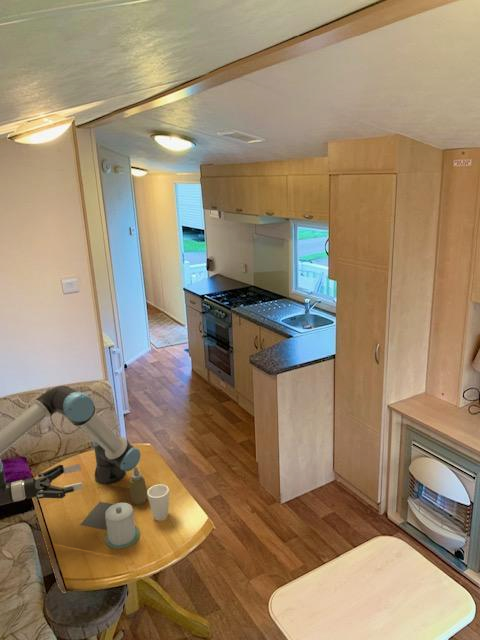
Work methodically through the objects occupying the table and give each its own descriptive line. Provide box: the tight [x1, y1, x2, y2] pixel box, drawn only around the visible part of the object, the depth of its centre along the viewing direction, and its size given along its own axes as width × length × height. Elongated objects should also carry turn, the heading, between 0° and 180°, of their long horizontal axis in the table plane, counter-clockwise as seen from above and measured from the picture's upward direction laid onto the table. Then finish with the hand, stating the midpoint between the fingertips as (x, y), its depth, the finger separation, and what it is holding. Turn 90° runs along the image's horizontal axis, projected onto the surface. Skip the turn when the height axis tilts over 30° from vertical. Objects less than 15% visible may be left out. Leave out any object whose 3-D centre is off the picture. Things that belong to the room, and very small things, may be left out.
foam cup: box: [147, 483, 170, 522], centre depth 217 cm, size 10×9×13 cm
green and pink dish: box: [104, 525, 141, 550], centre depth 206 cm, size 14×14×5 cm
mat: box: [79, 501, 115, 531], centre depth 220 cm, size 16×14×1 cm
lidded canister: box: [105, 502, 136, 545], centre depth 205 cm, size 11×11×14 cm
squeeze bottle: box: [129, 466, 148, 506], centre depth 226 cm, size 8×8×18 cm
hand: (81, 476), depth 199 cm, fingers open, 13 cm apart
